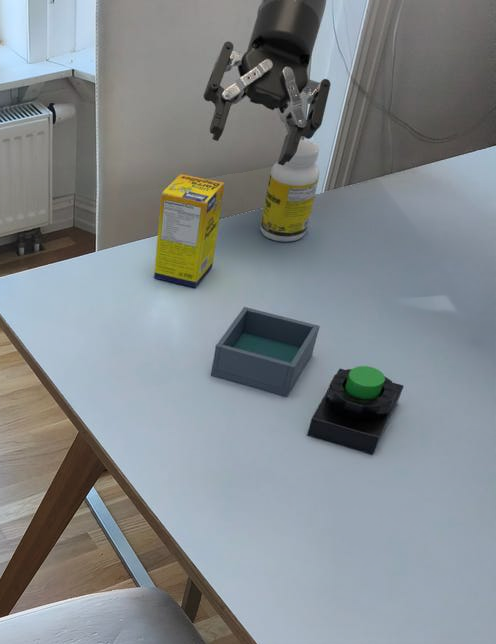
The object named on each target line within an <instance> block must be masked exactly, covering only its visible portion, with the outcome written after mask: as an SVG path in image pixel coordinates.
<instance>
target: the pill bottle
mask: <svg viewBox="0 0 496 644" xmlns="http://www.w3.org/2000/svg"><path fill="white" fill-rule="evenodd" d="M282 146H283V144H282V145H281V148H280V151H281V150H282ZM319 151H320V147H319V146H318V144H316V143H314V142H313V141H310V140H308V139H307V140H306V139H300V141H299V145H298V148H297V151H296V153H295V155H294V156H293V157H292V159H291V160H290V161H289V162H286V163H285V164H284V165H283V166H282V165H280V164H278V161H276V162H275V163H274V164H273V166H272V167H271V170H270V175H269V180H268V185H267V189H266V195H265V199H264V200H265V201H264V206H263V210H262V216H261V221H260V222H261V223H260V232H261V233H262V235H263V236H264V237H266V238H267V239H270V240H273V241H276V242H285V243H286V242H295V241H297V240H300V239H302V238H303V237H304V236H305V234H306V233H307V229H308V226H309V221H310V218H311V213H312V209H313V205H314V200H315V196H316V193H317V187H318V183H319V178H320V168H319V166H318V164H316V162H317V160H318V157H319Z"/></svg>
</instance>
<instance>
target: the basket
mask: <svg viewBox="0 0 496 644" xmlns="http://www.w3.org/2000/svg"><path fill="white" fill-rule="evenodd" d="M320 327H321V326H320V325H318V324H314V323H310V322H306V321H303V320H298V319H295V318H292V317H291V318H290V317H287V316H282V315H278V314H274V313H270V312H266V311H264V310H263V311H262V310H259V309H255V308H250V307H247V306H243V308H242V309H241V310H240V312H239V313H238V314H237V316H236V317H235V319H233V321H232V323H231V324H230V325H229V327H227V329H226V331H225V332H224V334H223V335H222V336H221V338H220V340H219V341H218V342H217V343H216V345H215V347H214V348H215V349H214V354H213V360H212V366H211V371H210V375H211V376H213V377H215V378H220V379H223V380H227V381H230V382H233V383H237V384H240V385H241V384H242V385H244V386H249V387H252V388H256V389H258V390H263V391H266V392H269V393H273V394H277V395H280V396H284V397H288V396H289V394H290V392H291V391H292V389H293V388H294V386H295V384H296V383H297V381H298V379H299V378H300V376H301V374H302V372H303V371H304V369H305V368H306V366H307V364H308V363H309V361H310V359H311V358H312V356H313V353H314V349H315V346H316V341H317V338H318V334H319V330H320Z"/></svg>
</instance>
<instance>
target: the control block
mask: <svg viewBox="0 0 496 644" xmlns="http://www.w3.org/2000/svg"><path fill="white" fill-rule="evenodd" d="M352 369H353V368H348V369H344V368H339V369H338V370H337V372H336V374H334V375H333V377H332V379H331V381H330V383H329V386H328V388H327V389H326V393H325V394H324V396H323V397H322V399H321V401H320V403H319V405H318V406H317V407H316V410H315V412H314V413H313V415H312V417H311V420H310V423H309V426H308V430H307V434H306V435H307V436H309V437H313V438H316V439H320V440H323V441H327V442H331V443H333V444H336V445H339V446H343V447H346V448H350V449H354V450H357V451H361V452H364V453H366V454H370V455H374V454H375V451H376V449H377V447H378V445H379V442H380V441H381V438H382V436H383V435H384V432H385V430H386V428H387V426H388V424H389V422H390V420H391V418H392V416H393V413H394V412H395V409H396V407H397V406H398V403H399V400H400V398H401V395H402V392H403V389H404V385H403V384H400V383H396V382H393V380H392V379H390V378H388V377H386V376H385V381H384V384H383V387H382V390H381V393H380V395H379V396H378V397H377V398H375V399H361V398H357V397H353V396H351V395H350V394H348V393H347V392H346V391H345V385H346V381H347V378H348V375H349V372H350V371H351V370H352Z"/></svg>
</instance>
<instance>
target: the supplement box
mask: <svg viewBox="0 0 496 644" xmlns="http://www.w3.org/2000/svg"><path fill="white" fill-rule="evenodd" d="M224 187H225V182H222V181H217V180H212V179H206V178H202V177H198V176H192V175H187V174H183V173H180V174H179V175H178V176H176V178H174V180H173V181H172V182H171V183H170V184H169V185H168V186H167V187H166V188H165V189H164V190H163V191H162V193H161V196H160V205H159V206H160V208H159V219H158V227H157V239H156V249H155V251H156V252H155V260H154V261H155V262H154V274H153V279H159V280H163V281H166V282H171V283H175V284H179V285H184V286H187V287H192V288H197V287H198V286H199V284H200V283H201V281H202V280H203V279H204V278H205V276H207V274H208V273H209V272H210V270H211V269H212V268H213V264H214V258H215V250H216V244H217V237H218V232H219V224H220V218H221V217H220V216H221V210H222V203H223V197H224V189H225V188H224Z"/></svg>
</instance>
